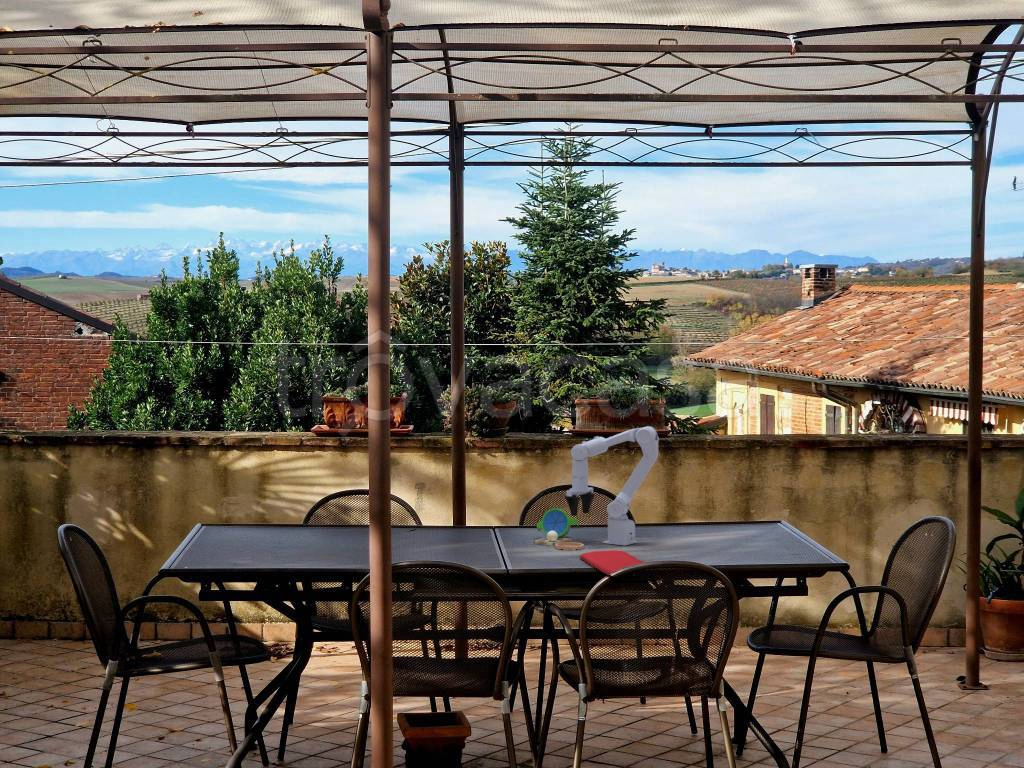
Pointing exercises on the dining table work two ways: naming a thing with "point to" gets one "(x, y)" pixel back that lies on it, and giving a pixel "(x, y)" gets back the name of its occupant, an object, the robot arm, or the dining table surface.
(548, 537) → the ball
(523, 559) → the dining table surface
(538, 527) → the snack cup
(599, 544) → the dining table surface
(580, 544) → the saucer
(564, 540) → the tray
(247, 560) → the dining table surface
